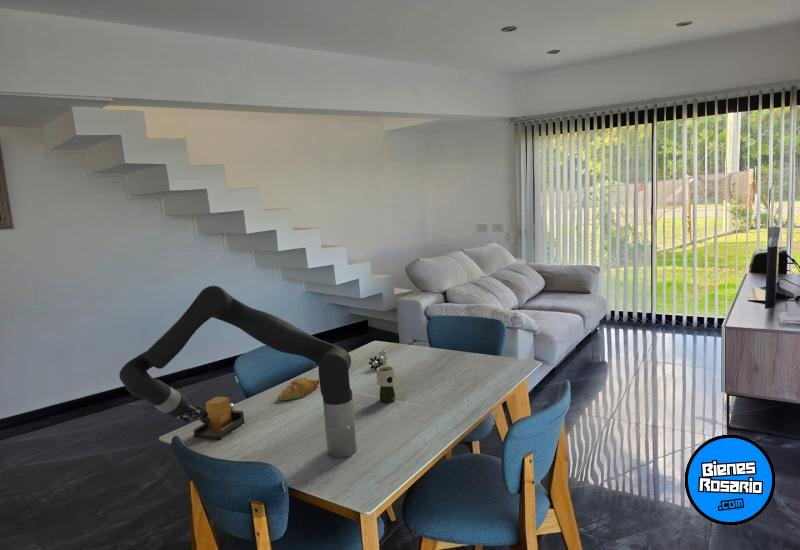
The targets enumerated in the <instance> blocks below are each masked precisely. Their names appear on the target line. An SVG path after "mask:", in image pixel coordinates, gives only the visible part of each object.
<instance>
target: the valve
mask: <svg viewBox="0 0 800 550" xmlns="http://www.w3.org/2000/svg"><path fill="white" fill-rule="evenodd" d="M369 360H370V361H369V362H368V365H369V366H370V365H371V366H370V369H371V370H372V369H374V371H377V368H379V367H381V366H387V365H388V352H387V350H386V349H380V350H378V357H377V356H373V357H370V359H369Z"/></svg>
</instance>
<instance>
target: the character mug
mask: <svg viewBox="0 0 800 550" xmlns="http://www.w3.org/2000/svg"><path fill="white" fill-rule="evenodd" d="M395 376H396V371H395V367H394V366H392V365H381V366H380V367H379V368H377V370H376V379H377V380H376V381H377V382H376V383H377V386H379V387H380V388H379V400H380V401H381V402H384V403H387V402H388V403H389V402H390V403H391V402H393V401H394V400H396V393H395V388H394V385H395V384H396V377H395Z"/></svg>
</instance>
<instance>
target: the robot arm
mask: <svg viewBox="0 0 800 550" xmlns="http://www.w3.org/2000/svg"><path fill="white" fill-rule="evenodd" d="M211 318H213V319H216V320H218V321H221V322H224V323H227V324H229V325H232V326H234V327H236V328H238V329H240V330H241V331H243V332H244V333H245V334H247V335H248V336H250V337H251V338H253V339H255V340H256V341H257V342H259V343H261V344H263V345H266V346H267V347H270V348H272V349H273V350H275V351H278V352H281V353H286V354H289V355H293V356H300V357H302V358H303V357H304V358H306V359H309V361H312V362H314V363H316V364H317V365H318V368H317V369H318V380H319V387H320V393H321V396H322V404H323V415H324V425H325V426H324V427H325V437H326V446H327V447H326V450H327V454H328V455H329V456H330V457H331V459H337V458H338V459H339V458H347V457H352V456H353V454H355V453H356V452H357V441H356V439H357V438H356V429H355V428H356V427H355V426H356V424H355V414H354V402H353V401H354V400H353V399H354V398H353V390H352V389H351V383H350V374H349V373H350V372H349V371H350V368H351V365H352V358H351V355H350V353H349V352H348V351H347V350H345V349H344V348H343V347H340V346H338V345H335V344H332V343H330V342H328V341H325V340H322V339H320V338H318V337H315V336H314V335H311V334H310V333H309V332H307V331H304V330H303V329H301V328H299V327H297V326H295V325H294V324H291V323H289V322H288V321H286V320H284V319H282V318H280V317H278V316H276V315H274V314H270V313H268V312H265V311H262V310H259V309H256V308H252V307H250V306H248V305H246V304H244V303H243V302H241V301H240V300H238V299H236V298H235V297H233V296H232V295H231V294H229V293H228V292H227V291H226V290H225V289H223V288H222V287H221V286H218V285H209V286H206V287H205V288H203V289H202V290H201V291H200V292H199V294H198V295H197V296H196V298H195V299H194V300H193V301H192V303H191V304H190V305H189V307H188V308H187V309H186V311H184V313H183V314H182V315H181V316H180V318H179V319H178V320H177V321H175V323H174V324H173V325H172V326H171V327H170V328H169V329H168V330H166V332H165V333H164V334H163V335H162V336H161V337H160V338H158V340H156V341H155V342H154V343H153V344H152V345H151V346H150V347H149V348H148V349H147V350H146V351H144V352H143V353H139V355H137V356H136V357H133V358H132V359H130V360H129V361H128V362H126V363H125V364H124V365H123V366H122V368H121V370H120V371H119V374H118V376H119V380H120V381H121V382H122V385H123V386H124V387H125V389H126V390H127V391H128V392H129V393H130V394H131V395H133V396H134V397H136V398H139V399H141V400H145V401H147V402H148V403H149V404H151V405H152V406H153V407H155V408H156V409H157V410H159V411H160V412H162V413H163V414H165V415H167V416H168V417H170V418H172V419H173V418H176V419H180V420H182V422H185V423H189V421H190V419H191V420H195V421H196V420H197V421H200V422H201V423H202V424H206V425H208V424H209V422H210V418H209V417H208V414H209V413H207V410H204V409H203V408H202V407H200V406H196V407H194V406H192V405H191V404H189V401H188V398H187V397H186V396H185V395H184V394H182V393H180V392H179V391H178V390H177V389H175V388H174V387H172V386H169V385H168V384H167V383H165V382H163V381H162V380H160V379H158V378H153V377H152V376H151V375H150V374H149V372H148V371H149V370H150V369H151V368H153V367H154V368H155V369H159V370H161V369H163V368H165V367H166V366H167V365H168V364H169V363H170V362H171V361H172V360H174V358H176V356H177V355H178V354H179V353H180V352H181V351H182V350H183V348H185V347H186V345H187V344H188V342H189V340H190V339H191V338H192V337H193V335H194V334H195V333H196V332H197V330H198V329H199V328H200V327H202V326H203V325H204V324H205V323H206V322H207V321H209V320H210V319H211Z"/></svg>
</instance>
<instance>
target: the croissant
mask: <svg viewBox="0 0 800 550" xmlns="http://www.w3.org/2000/svg"><path fill="white" fill-rule="evenodd" d="M319 385H320V381H319V379H310V378H309V379H307V378H306V377H299V378H295V379H294V380H292V381H291V382H290V383H289V384H288V385H287V386H286V388H285V389H284V390H282V391H281V393H280V394H278V396H277V400H278V401H288V400H296V399H300V397H301V398H303V397H306V396H308V395H310V394H311V393H312V392H313V391H314V390H316V389H317V387H318V386H319Z"/></svg>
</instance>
